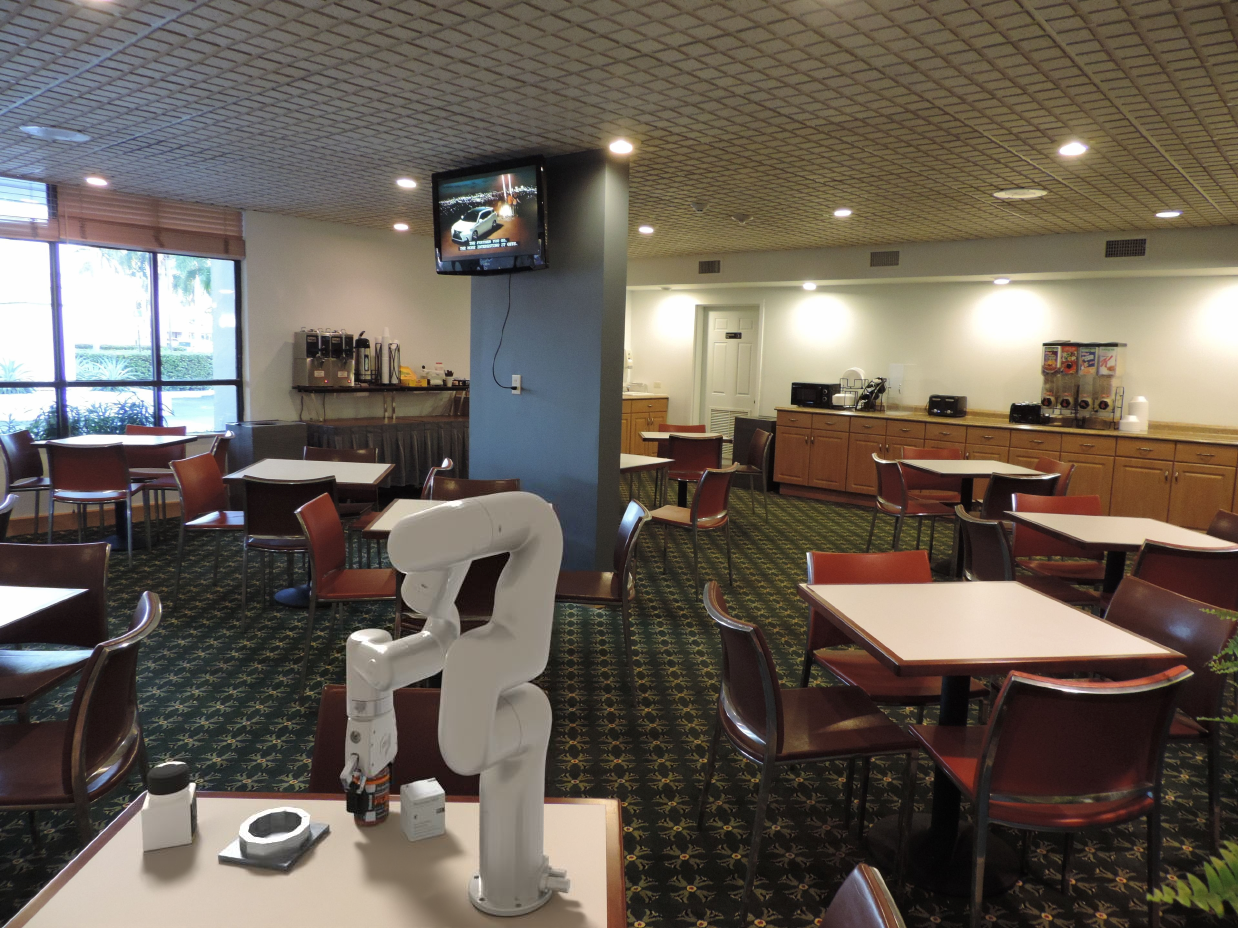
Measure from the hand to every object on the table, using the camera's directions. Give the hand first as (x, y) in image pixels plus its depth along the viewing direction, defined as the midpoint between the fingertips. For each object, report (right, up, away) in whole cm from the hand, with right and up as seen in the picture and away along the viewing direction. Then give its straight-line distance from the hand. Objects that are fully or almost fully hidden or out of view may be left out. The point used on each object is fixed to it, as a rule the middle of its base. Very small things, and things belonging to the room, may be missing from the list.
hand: (370, 797), depth 141 cm
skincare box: (+10, -4, -3) cm, 11 cm away
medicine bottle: (-31, -4, -6) cm, 32 cm away
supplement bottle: (0, -4, 0) cm, 4 cm away
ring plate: (-13, -4, -8) cm, 16 cm away
